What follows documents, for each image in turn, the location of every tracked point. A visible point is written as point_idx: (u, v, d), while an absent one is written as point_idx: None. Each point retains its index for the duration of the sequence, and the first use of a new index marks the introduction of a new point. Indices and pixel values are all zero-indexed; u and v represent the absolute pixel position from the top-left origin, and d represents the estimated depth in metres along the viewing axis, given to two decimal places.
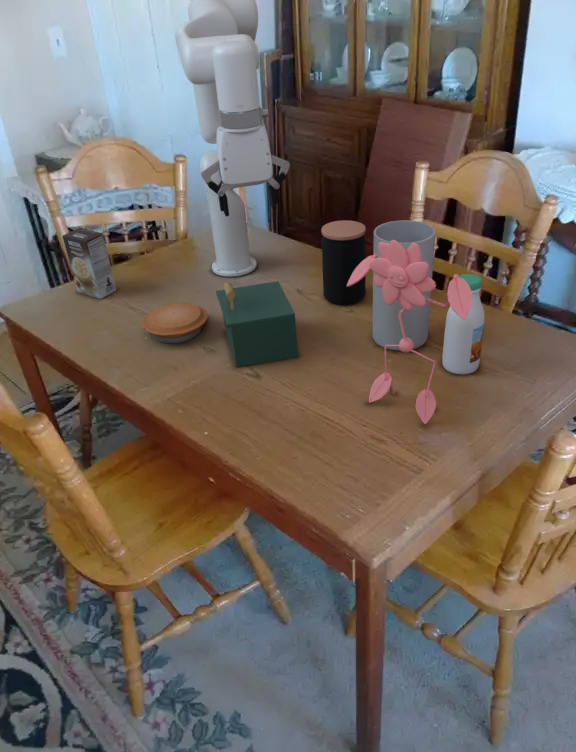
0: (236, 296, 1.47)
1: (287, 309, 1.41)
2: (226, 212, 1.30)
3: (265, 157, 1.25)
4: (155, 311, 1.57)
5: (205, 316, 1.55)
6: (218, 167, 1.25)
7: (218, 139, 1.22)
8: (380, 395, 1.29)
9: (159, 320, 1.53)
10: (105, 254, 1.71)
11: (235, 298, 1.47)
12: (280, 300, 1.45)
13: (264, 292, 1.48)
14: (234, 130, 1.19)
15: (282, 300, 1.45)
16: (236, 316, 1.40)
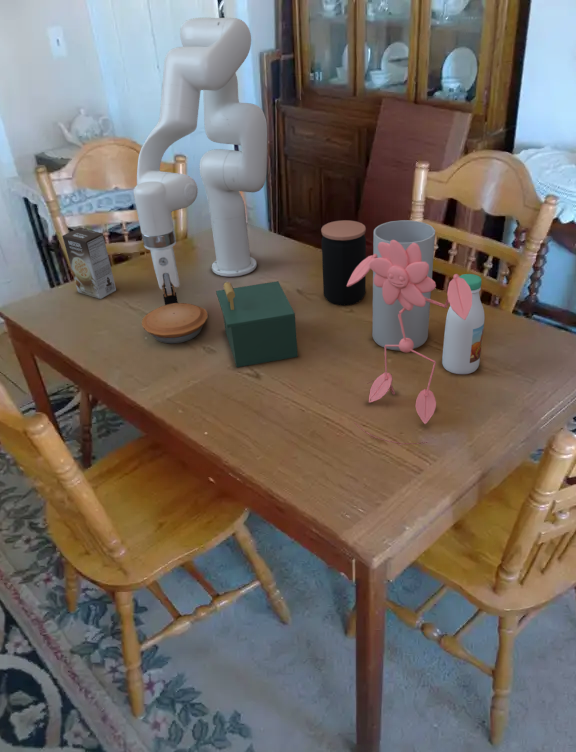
0: (236, 296, 1.47)
1: (287, 309, 1.41)
2: None
3: (155, 272, 1.54)
4: (155, 311, 1.57)
5: (205, 316, 1.55)
6: None
7: None
8: (380, 395, 1.29)
9: (159, 320, 1.53)
10: (105, 254, 1.71)
11: (235, 298, 1.47)
12: (280, 300, 1.45)
13: (264, 292, 1.48)
14: None
15: (282, 300, 1.45)
16: (236, 316, 1.40)
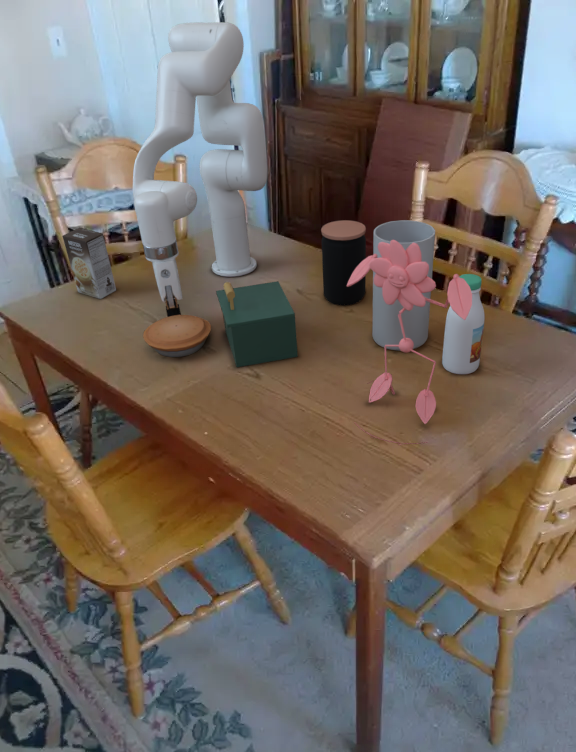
0: (236, 296, 1.47)
1: (287, 309, 1.41)
2: None
3: (157, 284, 1.50)
4: (157, 323, 1.52)
5: (208, 329, 1.50)
6: None
7: None
8: (380, 395, 1.29)
9: (161, 333, 1.48)
10: (105, 254, 1.71)
11: (235, 298, 1.47)
12: (280, 300, 1.45)
13: (264, 292, 1.48)
14: None
15: (282, 300, 1.45)
16: (236, 316, 1.40)
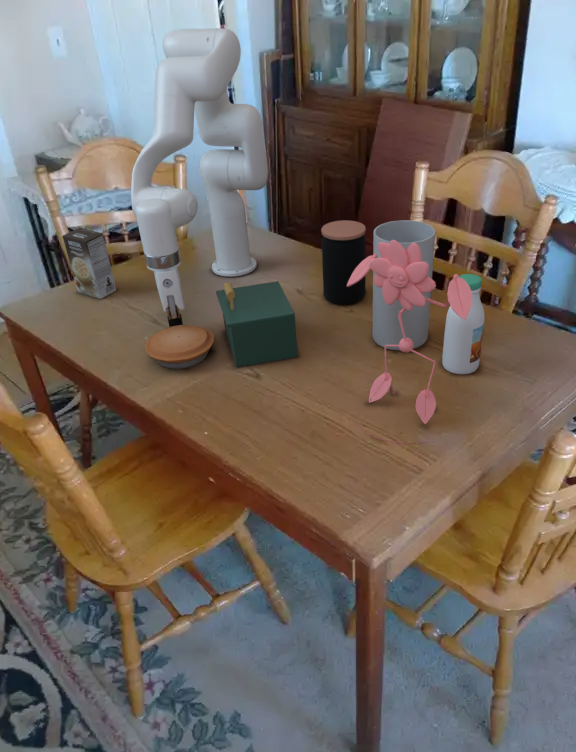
0: (236, 296, 1.47)
1: (287, 309, 1.41)
2: None
3: (159, 294, 1.46)
4: (158, 334, 1.48)
5: (212, 340, 1.47)
6: None
7: None
8: (380, 395, 1.29)
9: (163, 344, 1.44)
10: (105, 254, 1.71)
11: (235, 298, 1.47)
12: (280, 300, 1.45)
13: (264, 292, 1.48)
14: None
15: (282, 300, 1.45)
16: (236, 316, 1.40)
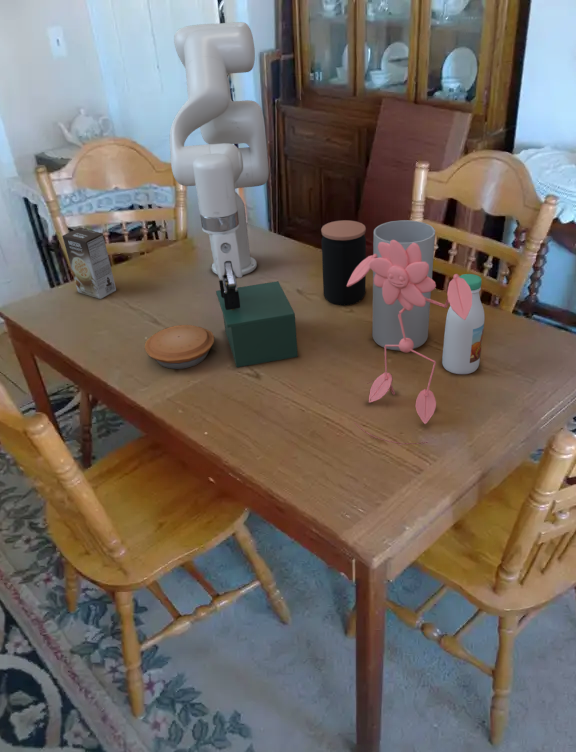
0: None
1: (287, 309, 1.41)
2: (221, 294, 1.45)
3: (215, 260, 1.33)
4: (158, 334, 1.48)
5: (212, 340, 1.46)
6: None
7: None
8: (380, 395, 1.29)
9: (163, 344, 1.44)
10: (105, 254, 1.71)
11: None
12: (280, 300, 1.45)
13: (264, 292, 1.48)
14: None
15: (282, 300, 1.45)
16: (236, 316, 1.40)
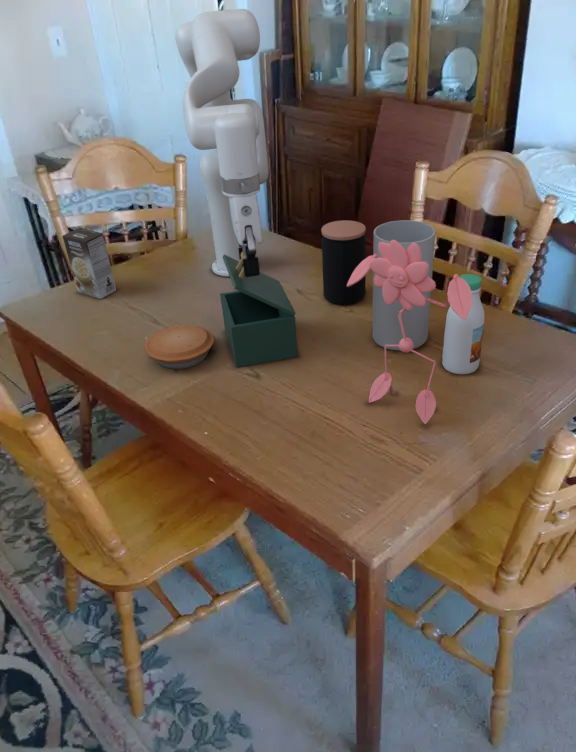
0: None
1: (289, 306, 1.41)
2: None
3: (235, 224, 1.30)
4: (158, 334, 1.48)
5: (212, 340, 1.46)
6: None
7: None
8: (380, 395, 1.29)
9: (163, 344, 1.44)
10: (105, 254, 1.71)
11: (242, 270, 1.43)
12: (282, 296, 1.44)
13: (267, 282, 1.47)
14: None
15: (283, 297, 1.44)
16: (244, 284, 1.36)
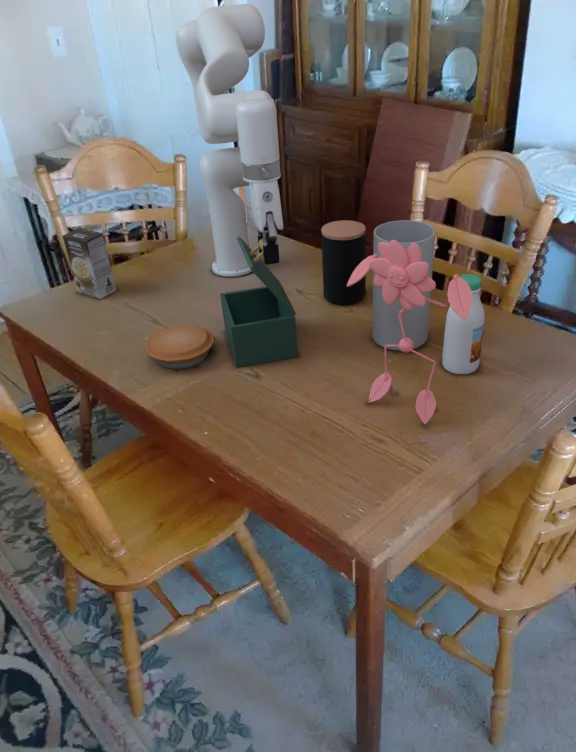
0: (254, 256, 1.43)
1: (290, 305, 1.41)
2: (259, 250, 1.41)
3: (256, 211, 1.30)
4: (158, 334, 1.48)
5: (212, 340, 1.46)
6: None
7: None
8: (380, 395, 1.29)
9: (163, 344, 1.44)
10: (105, 254, 1.71)
11: (254, 257, 1.42)
12: (285, 295, 1.44)
13: (272, 277, 1.46)
14: None
15: (285, 295, 1.44)
16: (258, 269, 1.35)
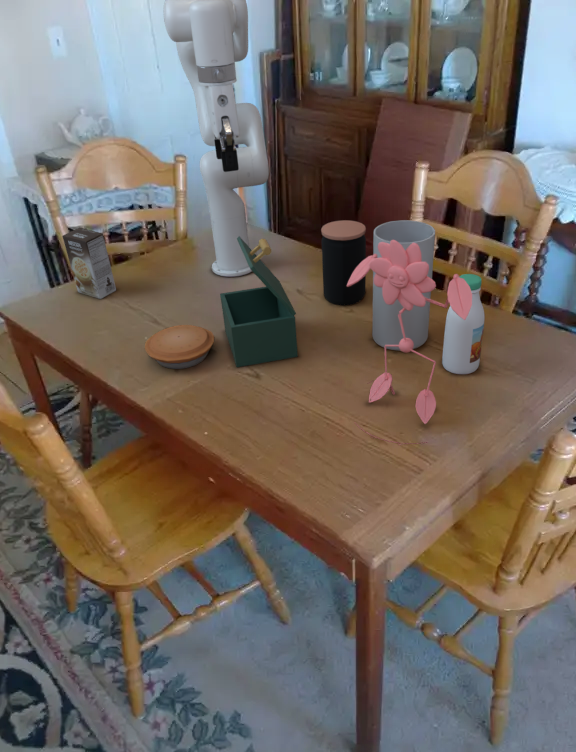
0: (254, 256, 1.43)
1: (290, 305, 1.41)
2: (216, 154, 1.43)
3: (212, 116, 1.30)
4: (158, 334, 1.48)
5: (212, 340, 1.46)
6: None
7: None
8: (380, 395, 1.29)
9: (163, 344, 1.44)
10: (105, 254, 1.71)
11: (254, 257, 1.42)
12: (285, 295, 1.44)
13: (272, 277, 1.46)
14: None
15: (285, 295, 1.44)
16: (258, 269, 1.35)
